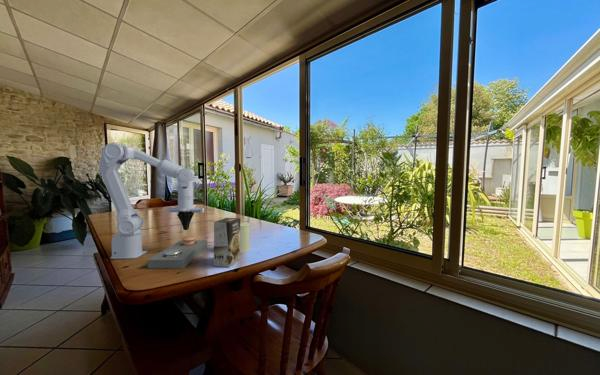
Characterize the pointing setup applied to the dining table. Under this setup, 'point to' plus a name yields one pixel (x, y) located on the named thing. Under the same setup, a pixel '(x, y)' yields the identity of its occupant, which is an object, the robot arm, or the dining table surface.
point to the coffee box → (226, 242)
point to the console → (182, 260)
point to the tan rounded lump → (188, 241)
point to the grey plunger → (173, 253)
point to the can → (244, 237)
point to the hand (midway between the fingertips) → (186, 229)
